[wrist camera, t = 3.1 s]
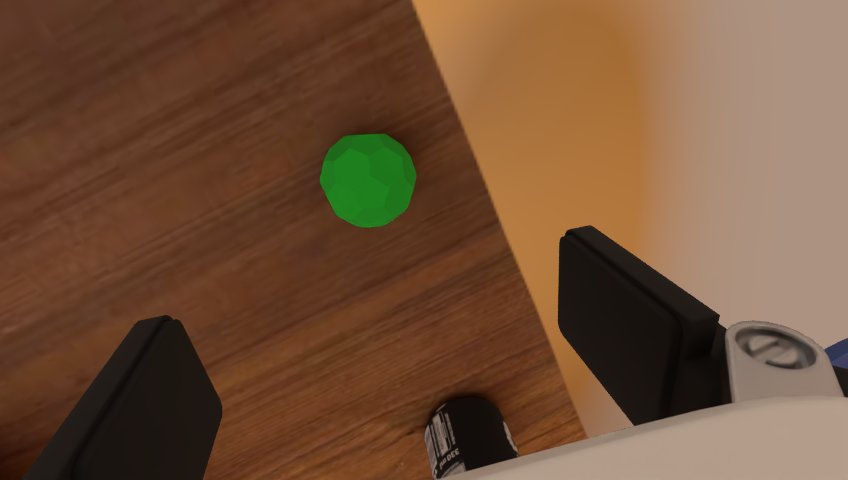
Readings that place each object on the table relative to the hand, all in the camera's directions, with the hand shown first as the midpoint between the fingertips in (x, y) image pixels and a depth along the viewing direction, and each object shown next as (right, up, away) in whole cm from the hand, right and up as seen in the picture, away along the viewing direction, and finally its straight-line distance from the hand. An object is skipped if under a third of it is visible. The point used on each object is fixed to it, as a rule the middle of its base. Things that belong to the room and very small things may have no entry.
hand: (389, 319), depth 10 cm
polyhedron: (-2, +6, +14) cm, 15 cm away
